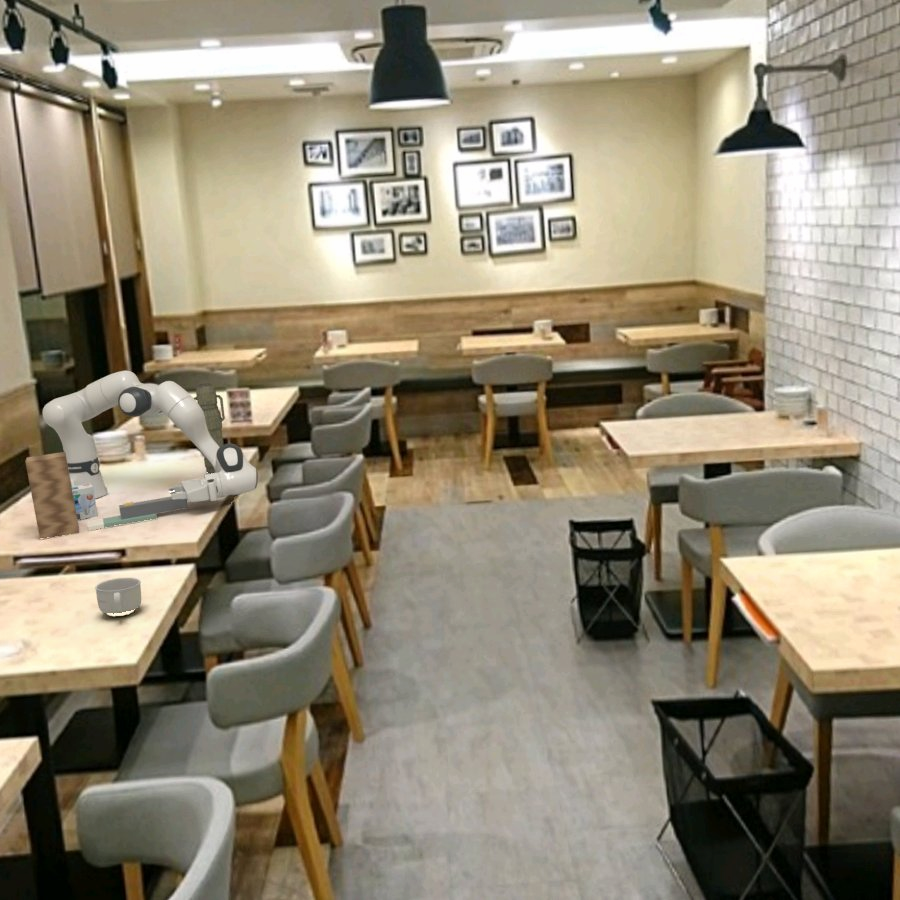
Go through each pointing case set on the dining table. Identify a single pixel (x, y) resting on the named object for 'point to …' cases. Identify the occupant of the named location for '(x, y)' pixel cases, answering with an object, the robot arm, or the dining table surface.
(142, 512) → the grey rectangular bar
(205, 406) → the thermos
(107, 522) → the board
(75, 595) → the dining table surface
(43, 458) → the brown wooden block
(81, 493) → the light bulb box
